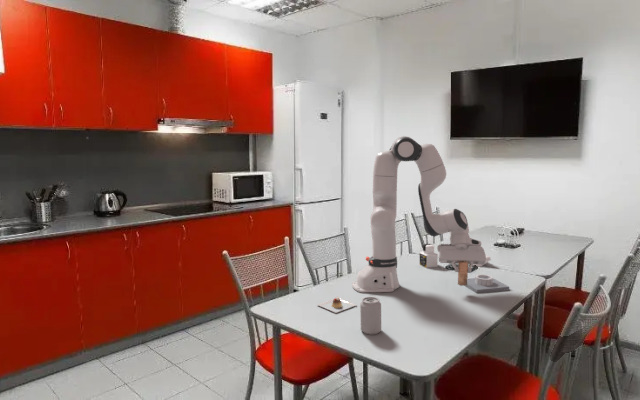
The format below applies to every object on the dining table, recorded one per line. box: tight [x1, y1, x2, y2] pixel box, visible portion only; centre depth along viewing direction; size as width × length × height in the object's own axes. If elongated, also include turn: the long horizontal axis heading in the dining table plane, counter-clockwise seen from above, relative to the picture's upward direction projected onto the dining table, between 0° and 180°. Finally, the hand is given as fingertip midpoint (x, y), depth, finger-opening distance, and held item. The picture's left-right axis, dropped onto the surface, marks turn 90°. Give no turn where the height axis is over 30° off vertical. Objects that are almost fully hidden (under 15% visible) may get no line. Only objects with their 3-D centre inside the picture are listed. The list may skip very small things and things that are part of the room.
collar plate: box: [464, 274, 510, 294], centre depth 196 cm, size 16×15×4 cm
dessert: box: [317, 296, 357, 314], centre depth 177 cm, size 12×12×5 cm
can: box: [359, 296, 382, 336], centre depth 152 cm, size 8×8×12 cm
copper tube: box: [457, 261, 469, 287], centre depth 186 cm, size 4×4×10 cm
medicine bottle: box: [419, 243, 439, 269], centre depth 231 cm, size 7×7×12 cm
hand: (463, 271), depth 185 cm, fingers closed on copper tube, 4 cm apart
